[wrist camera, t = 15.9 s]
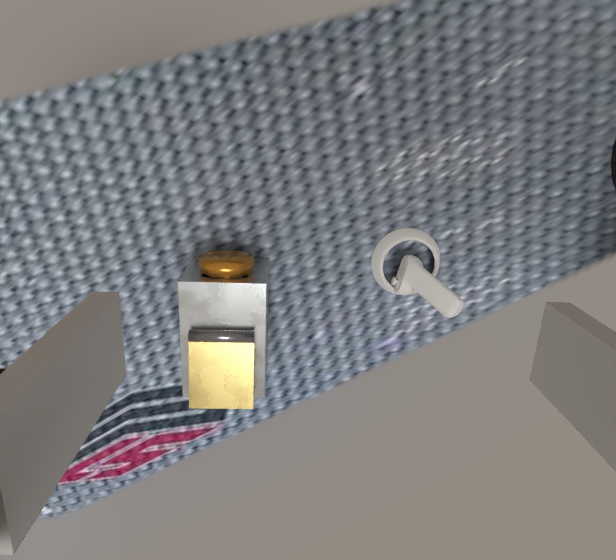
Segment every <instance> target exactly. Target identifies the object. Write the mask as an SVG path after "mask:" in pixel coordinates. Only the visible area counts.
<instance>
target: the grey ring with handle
mask: <svg viewBox="0 0 616 560" xmlns="http://www.w3.org/2000/svg"><path fill="white" fill-rule="evenodd" d="M408 240H414V241H419V242H421V243H423V244H425V245H426V246H427V247H428V248H429V249H430V250H431V251H432V253H433V256H434V260H435V262H434V269H433V272H432V274H431V273H430V272H428V271H427V270H426V269H425V268H424V267H423V264H422V262H421V261H420V260H419V259H418V258H417V257H416V256H413V255H405V256H404V257H403V259H402V261H401V264H400V267H399V270H398V272H397V275H396V278H395V277H393V278H392V281H391V284H389V283H388V281H387V280H386V278H385V276H384V272H383V263H384V259H385V257H386V255H387V253H388V252H389V250H390V249H391V248H392V247H394V246H395V245H396V244H398V243H400V242H403V241H408ZM439 266H440V253H439V249H438V246H437V244H436V243H435V241H434V239H433V238H432V237H431V236H430V235H428V234H427V233H425V232H424V231H421V230H419V229H414V228H402V229H398V230H395V231H393V232H390V233H389V234H387V235H386V236H384V237H383V238H382V239H381V240H380V241H379V243H378V244H377V246H376V247H375V249H374V252H373V254H372V259H371V269H372V273H373V276H374V278H375V280H376V281H377V283H378V284H379V285H380V286H381V287H382V288H383V289H385V290H387V291H388V292H391V293H394V294H399V295H410V294H414V293H417V292H418V293H419V294H420V295H421V296H422V297H423V298H425V299H426V300H427V301H428V302H429V303H430V304H431V305H432V306H434V307H435V308H436V309H437V310H438V311H439V312H440V313H442V314H443V315H444V316H445V317H447V318H451V317H454V316H456V315H458V314H459V312H460V311H461V310H462V308H463V306H464V302H463V301H462V299H461V298H460V297H459V296H457V295H456V294H455V293H454V292H453V291H451V290H450V289H449V288H448V287H447V286H445V285H444V284H443V283H442V282H441V281H439V280H438V279H437V278H436V275H437V273H438V270H439ZM392 285H394V287H393V286H392Z"/></svg>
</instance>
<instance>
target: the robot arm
mask: <svg viewBox="0 0 616 560" xmlns="http://www.w3.org/2000/svg"><path fill="white" fill-rule="evenodd" d="M612 175H613V181H614V184H615V187H616V143H615V146H614V151H613V157H612ZM125 375H126V368H125V356H124V345H123V333H122V322H121V310H120V299H119V292H92V293H90V294H89V295H88V296H87V297H86V298H85V299H84V300H83V301H82V302H80V303H79V304H78V305H77V306H76V307H75V308H74V309H73V310H71V311H70V312H69V313H68V314H67V315H66V316H65V317H64V318H63V319H61V320H60V321H59V322H58V323H57V324H56V325H55V326H54V327H53V328H51V329H50V330H49V331H48V332H47V333H46V334H45V335H44V336H43V337H41V338H40V339H39V340H38V341H37V342H36V343H35V344H34V345H32V346H31V347H30V348H29V349H28V350H27V351H26V352H25V353H24V354H22V355H21V356H20V357H19V358H18V359H17V360H16V361H15V362H14V363H12V364H11V365H10V366H9V367H8V368H7V369H0V555H14V554H15V552H16V551H17V549H18V547H19V546H20V544H21V542H22V541H23V539H24V538H25V536H26V534H27V533H28V531H29V530H30V528H31V526H32V525H33V523H34V522H35V520H36V518H37V517H38V515H39V514H40V512H41V510H42V509H43V507H44V505H45V504H46V502H47V501H48V499H49V497H50V496H51V494H52V493H53V491H54V489H55V488H56V486H57V485H58V483H59V481H60V480H61V478H62V477H63V475H64V473H65V472H66V470H67V468H68V467H69V465H70V464H71V462H72V460H73V459H74V457H75V456H76V454H77V452H78V451H79V449H80V448H81V446H82V444H83V443H84V441H85V440H86V438H87V436H88V435H89V433H90V431H91V430H92V428H93V427H94V425H95V423H96V422H97V420H98V419H99V417H100V415H101V414H102V412H103V411H104V409H105V407H106V406H107V404H108V402H109V401H110V399H111V398H112V396H113V394H114V393H115V391H116V390H117V388H118V386H119V385H120V383H121V382H122V380H123V378H124V377H125ZM530 381H531V382H532V383H533V384H534V385H535V386H536V387H537V388H538V389H539V390H540V391H541V392H542V394H543V395H544V396H545V397H546V398H547V399H548V400H549V401H550V402H551V403H552V404H553V405H554V406H555V407H556V408H557V409H558V410H559V412H561V413H562V415H564V417H565V418H566V419H567V420H568V421H569V422H570V423H571V424H572V425H573V426H574V427H575V428H576V430H577V431H578V432H579V433H580V434H581V435H582V436H583V437H584V438H585V439H586V440H587V441H588V442H589V443H590V444H591V446H593V448H594V449H595V450H596V451H597V452H598V453H599V454H600V455H601V456H602V457H603V458H604V459H605V460H606V461H607V462H608V463H609V465H610V466H611V467H612V468H613V469H614V470H615V471H616V332H614V331H613V330H611V329H610V328H608V327H606V326H605V325H603V324H602V323H600V322H599V321H597V320H596V319H594V318H593V317H591V316H589V315H588V314H586V313H585V312H583V311H582V310H580V309H579V308H577V307H576V306H574V305H572V304H571V303H560V302H546V306H545V310H544V314H543V319H542V324H541V329H540V333H539V338H538V342H537V347H536V352H535V357H534V362H533V366H532V371H531V375H530Z"/></svg>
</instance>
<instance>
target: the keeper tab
mask: <svg viewBox="0 0 616 560" xmlns="http://www.w3.org/2000/svg"><path fill="white" fill-rule="evenodd" d="M188 345H189V408H217V409H253V406H254V350H255V331H249V330H197V329H189V332H188Z"/></svg>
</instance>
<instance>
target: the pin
mask: <svg viewBox="0 0 616 560" xmlns="http://www.w3.org/2000/svg"><path fill="white" fill-rule="evenodd" d="M199 270H200V272H201V273H203V274H205V275H209V276H210V277H222V278H243V275H247V274H249V273H251V272H252V271H253V256H252V255H251V254H249V253H246V252H242V251H233V250H220V251H211V252H207V253H204V254H202V255H200V256H199Z"/></svg>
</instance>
